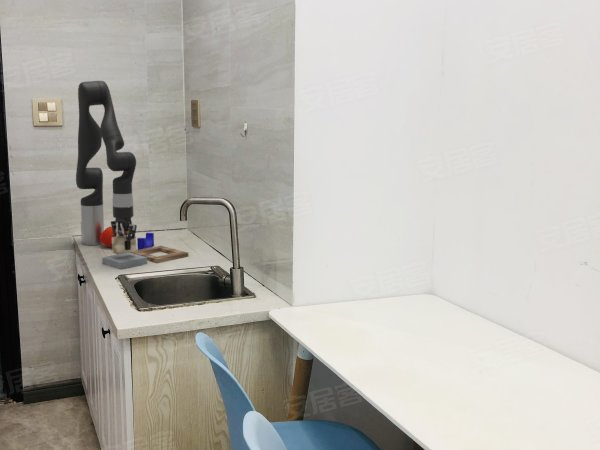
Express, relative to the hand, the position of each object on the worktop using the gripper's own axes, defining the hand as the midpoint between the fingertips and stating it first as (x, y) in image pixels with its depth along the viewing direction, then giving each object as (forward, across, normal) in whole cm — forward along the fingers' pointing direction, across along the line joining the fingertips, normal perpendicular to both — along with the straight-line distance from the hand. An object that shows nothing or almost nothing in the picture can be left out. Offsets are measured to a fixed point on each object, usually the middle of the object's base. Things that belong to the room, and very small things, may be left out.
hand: (124, 248), depth 240 cm
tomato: (+6, -27, +14) cm, 31 cm away
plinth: (+6, 0, 0) cm, 6 cm away
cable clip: (+6, -15, +20) cm, 26 cm away
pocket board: (+6, -1, +17) cm, 18 cm away
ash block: (+1, 0, 0) cm, 1 cm away
